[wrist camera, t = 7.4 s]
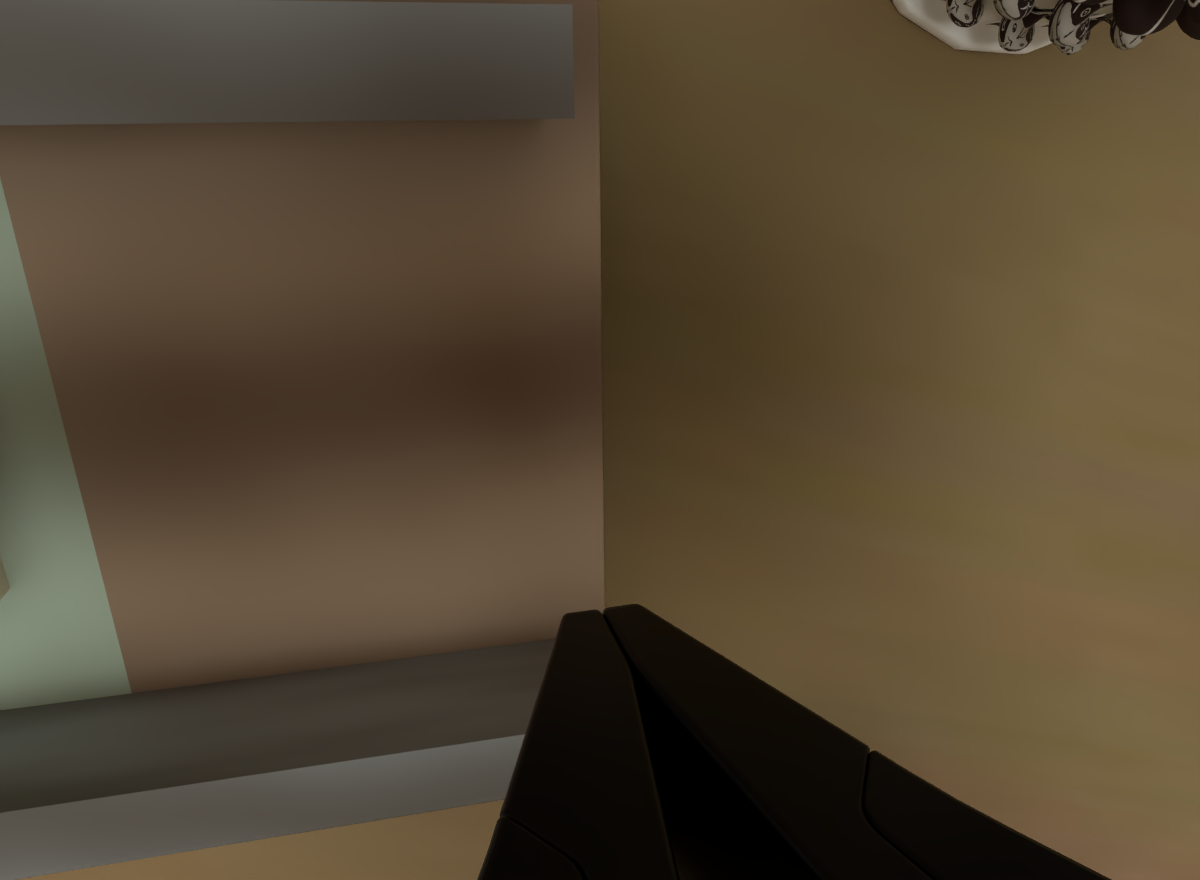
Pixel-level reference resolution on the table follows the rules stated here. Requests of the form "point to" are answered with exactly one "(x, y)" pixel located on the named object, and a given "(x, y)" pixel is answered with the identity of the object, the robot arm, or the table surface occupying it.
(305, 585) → the channel board
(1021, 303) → the table surface
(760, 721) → the robot arm
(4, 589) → the cream block
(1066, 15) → the decorative candle
